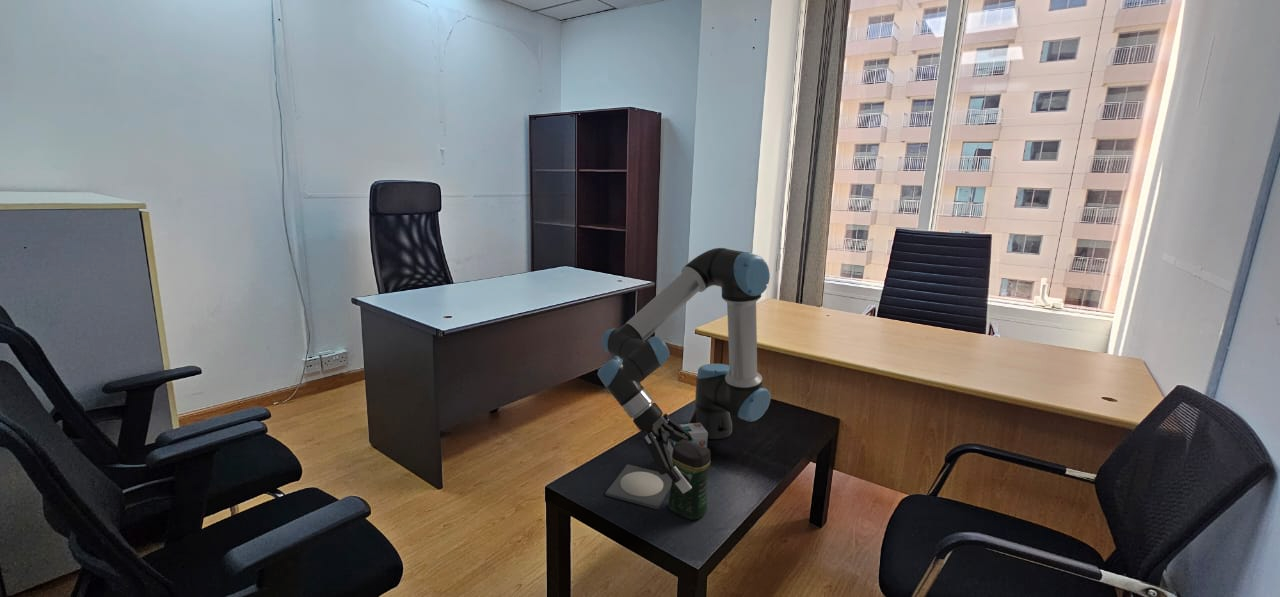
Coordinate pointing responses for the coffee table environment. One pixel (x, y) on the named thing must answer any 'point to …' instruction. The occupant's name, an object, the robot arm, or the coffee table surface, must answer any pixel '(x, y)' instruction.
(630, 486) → the marker mat
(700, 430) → the light bulb box
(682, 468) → the coffee jar
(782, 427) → the coffee table surface
